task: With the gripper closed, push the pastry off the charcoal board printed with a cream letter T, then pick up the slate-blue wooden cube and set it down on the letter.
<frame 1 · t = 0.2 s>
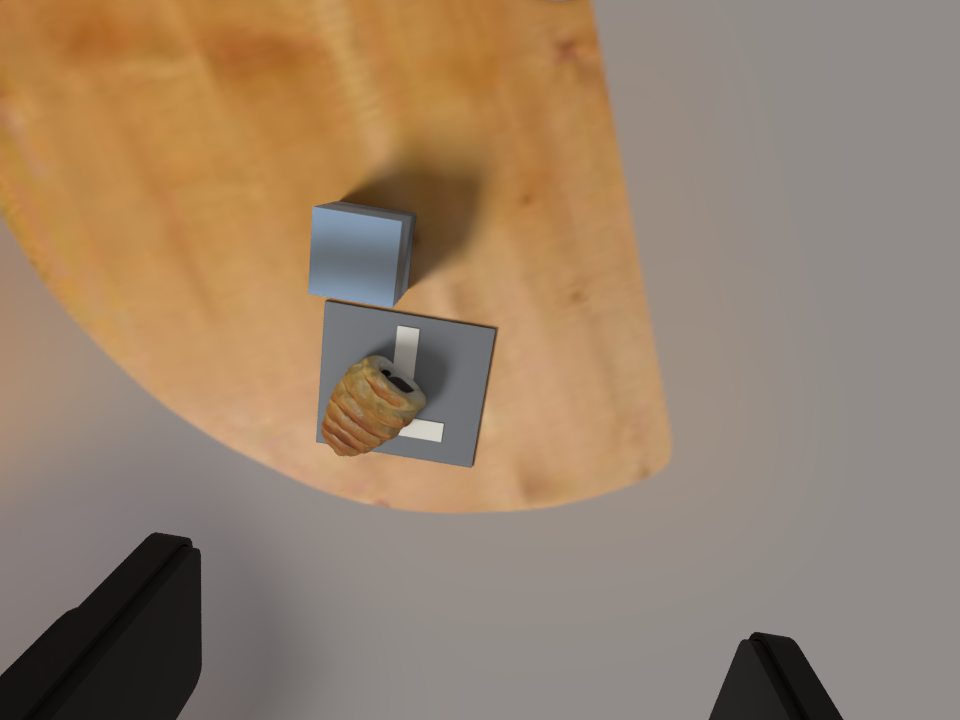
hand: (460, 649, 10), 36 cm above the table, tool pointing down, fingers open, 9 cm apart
slate blue cube: (374, 246, 44), on the table
pastry: (377, 400, 48), resting on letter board
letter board: (402, 387, 47), on the table
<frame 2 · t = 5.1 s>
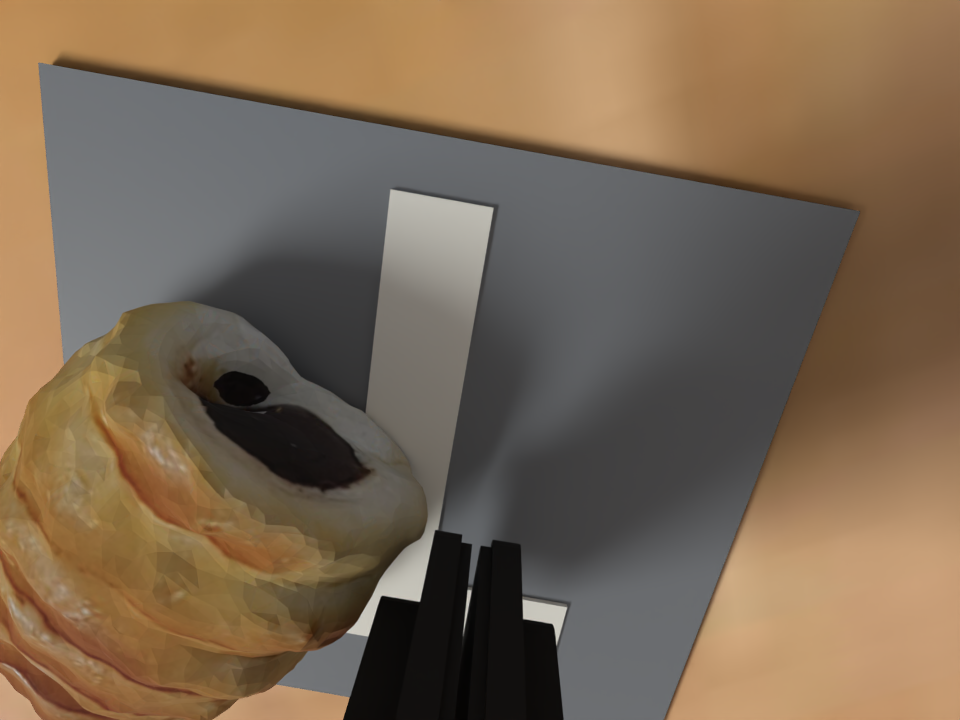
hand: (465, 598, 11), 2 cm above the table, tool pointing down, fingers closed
pastry: (232, 495, 12), resting on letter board
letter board: (405, 466, 12), on the table
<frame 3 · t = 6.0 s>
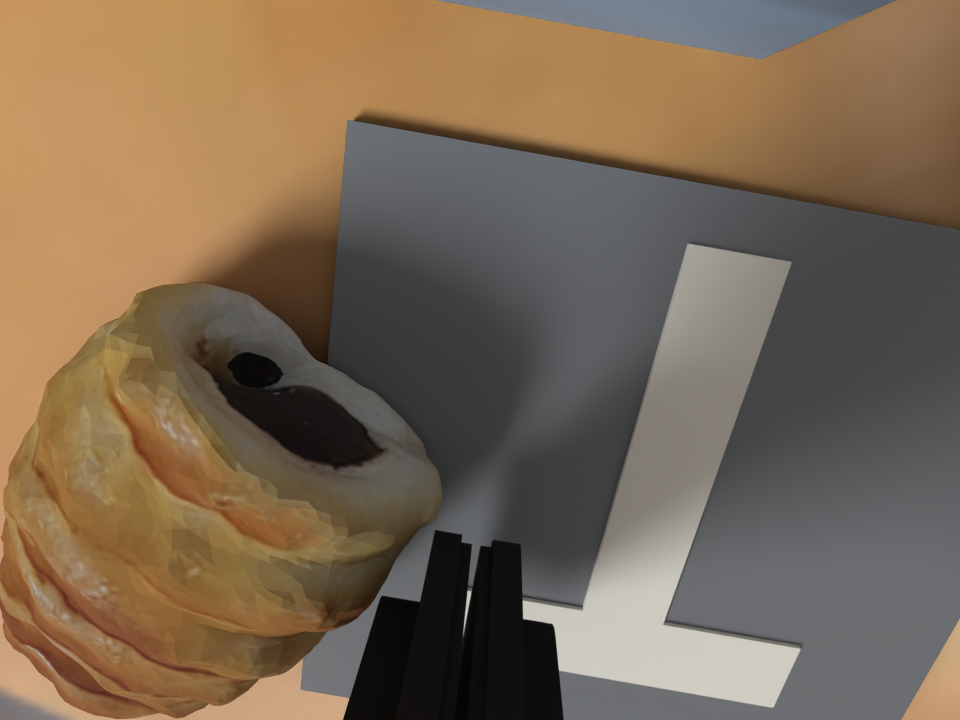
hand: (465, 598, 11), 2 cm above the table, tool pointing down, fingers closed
pastry: (249, 480, 12), on the table, touching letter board
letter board: (651, 510, 12), on the table
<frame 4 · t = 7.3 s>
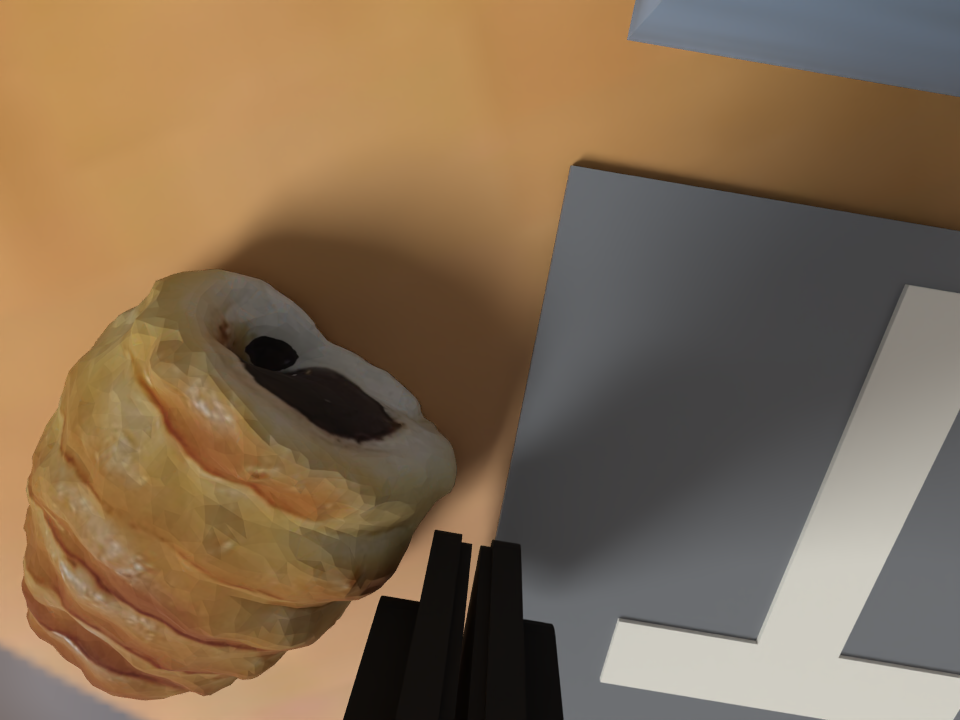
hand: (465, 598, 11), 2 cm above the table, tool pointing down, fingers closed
pastry: (263, 465, 12), on the table
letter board: (833, 545, 12), on the table
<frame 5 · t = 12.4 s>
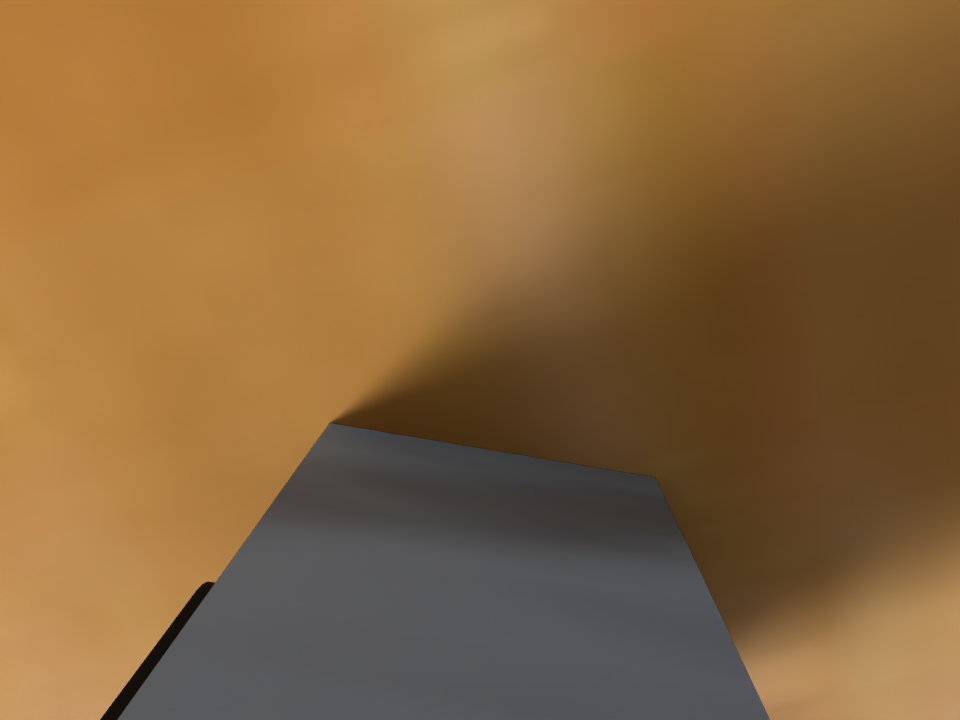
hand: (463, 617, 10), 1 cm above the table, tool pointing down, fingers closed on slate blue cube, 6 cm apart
slate blue cube: (467, 582, 11), on the table, touching gripper
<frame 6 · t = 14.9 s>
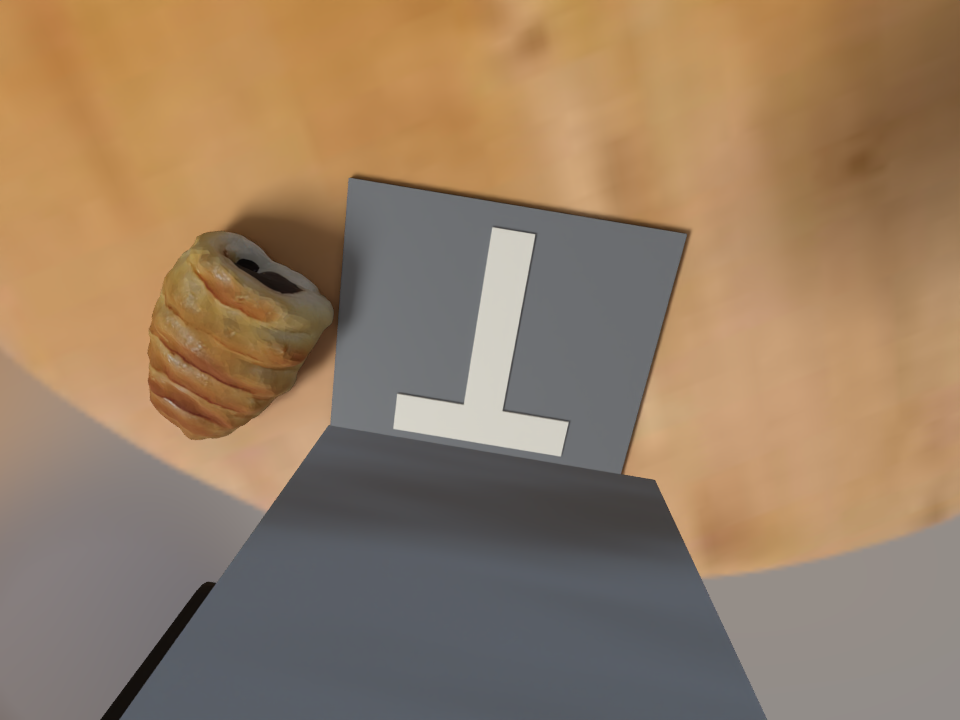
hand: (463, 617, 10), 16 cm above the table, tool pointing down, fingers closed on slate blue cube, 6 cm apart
slate blue cube: (467, 584, 11), point 15 cm above the table, touching gripper
pastry: (251, 328, 26), on the table
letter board: (492, 353, 25), on the table
when the fingers open (3 cm above the table, at t = 17.8 s): slate blue cube drops 1 cm, resting on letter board.
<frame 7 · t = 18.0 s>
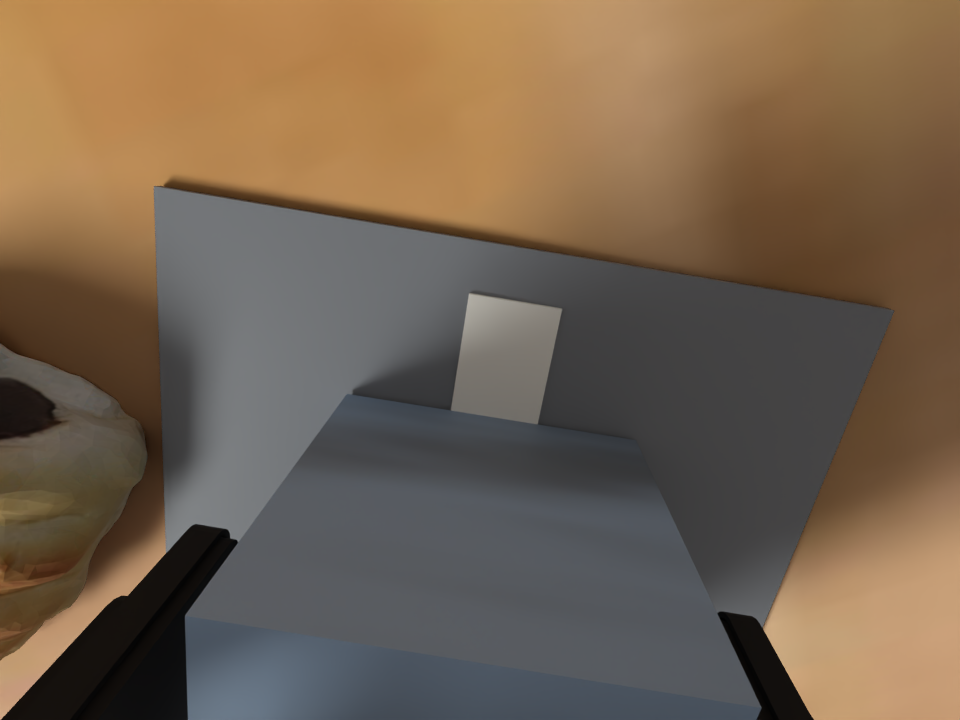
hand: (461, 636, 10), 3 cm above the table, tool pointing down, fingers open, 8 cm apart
slate blue cube: (470, 538, 12), resting on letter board
pastry: (11, 473, 13), on the table
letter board: (472, 531, 13), on the table
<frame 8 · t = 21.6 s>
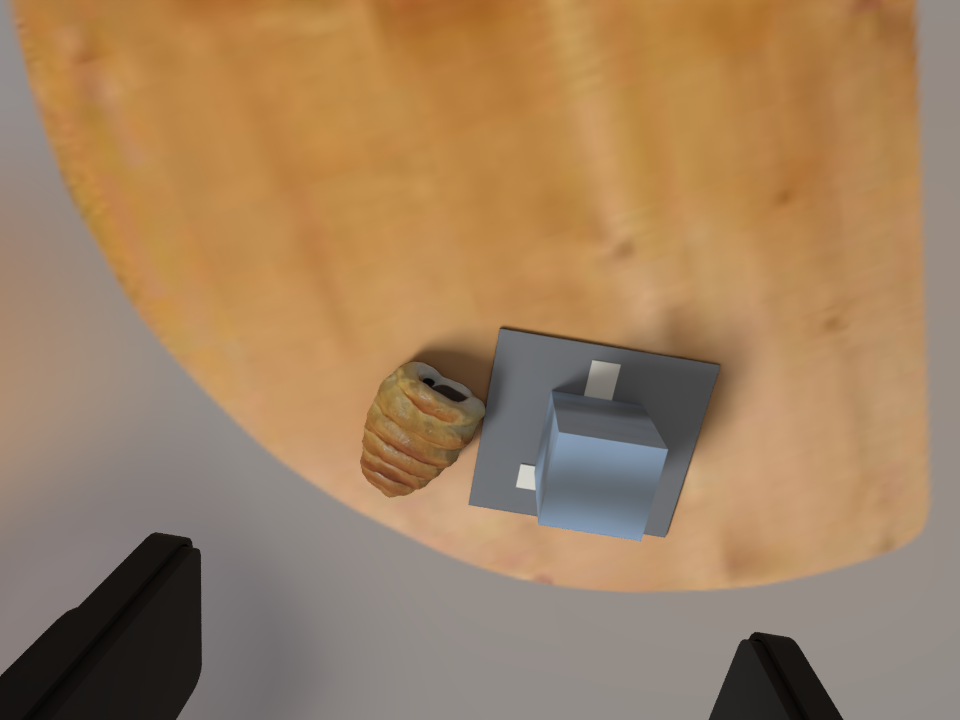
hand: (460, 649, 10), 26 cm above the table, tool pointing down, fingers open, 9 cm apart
slate blue cube: (587, 439, 37), resting on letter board
pastry: (423, 419, 38), on the table
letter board: (586, 437, 37), on the table
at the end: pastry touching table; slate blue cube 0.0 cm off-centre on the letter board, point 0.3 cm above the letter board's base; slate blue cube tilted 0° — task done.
